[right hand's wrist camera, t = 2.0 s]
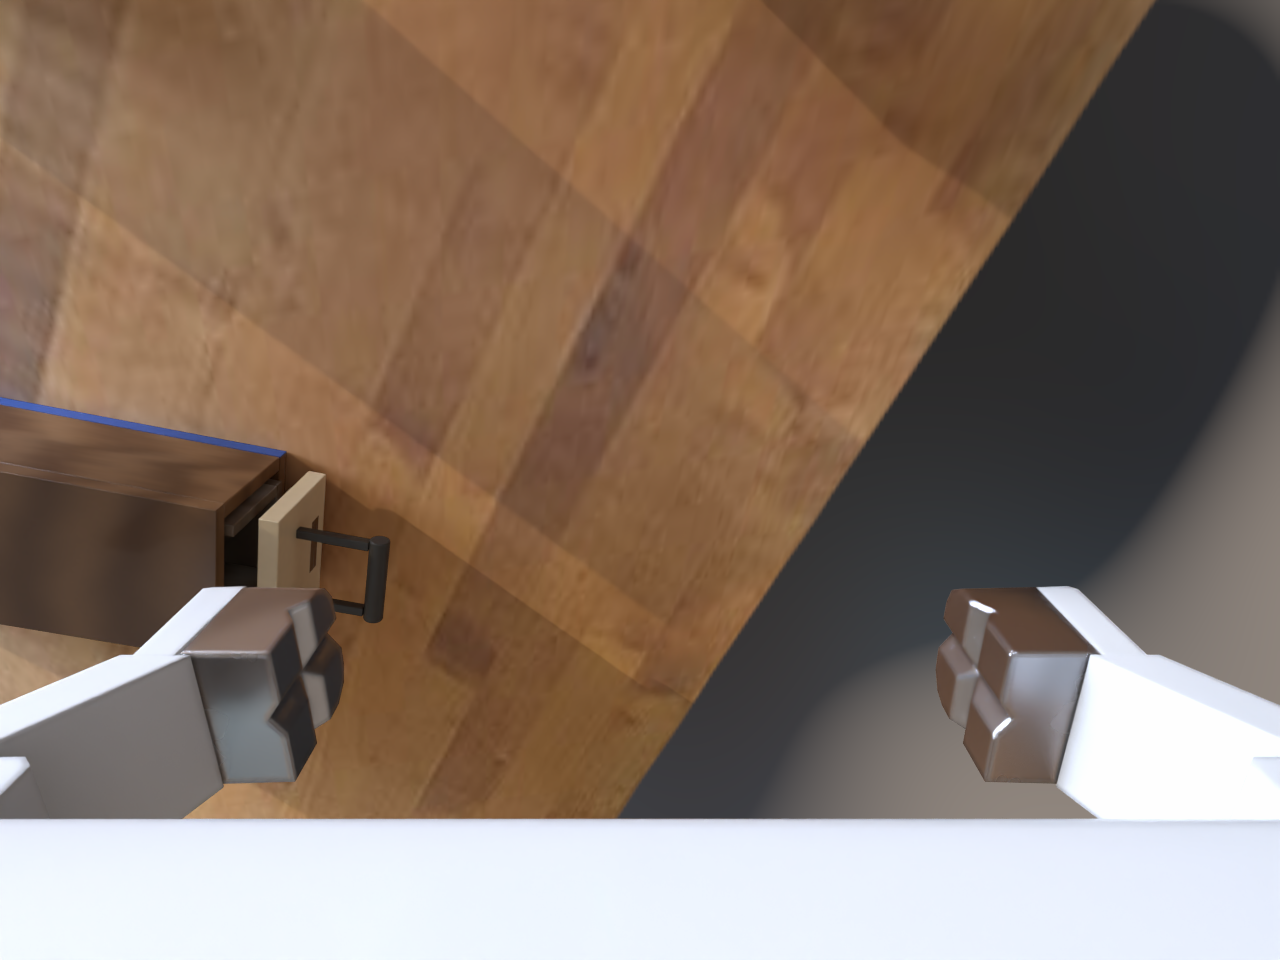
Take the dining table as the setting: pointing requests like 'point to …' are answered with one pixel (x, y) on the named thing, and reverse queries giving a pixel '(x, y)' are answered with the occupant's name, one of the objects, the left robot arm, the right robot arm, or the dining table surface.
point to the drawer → (295, 544)
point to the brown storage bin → (113, 519)
